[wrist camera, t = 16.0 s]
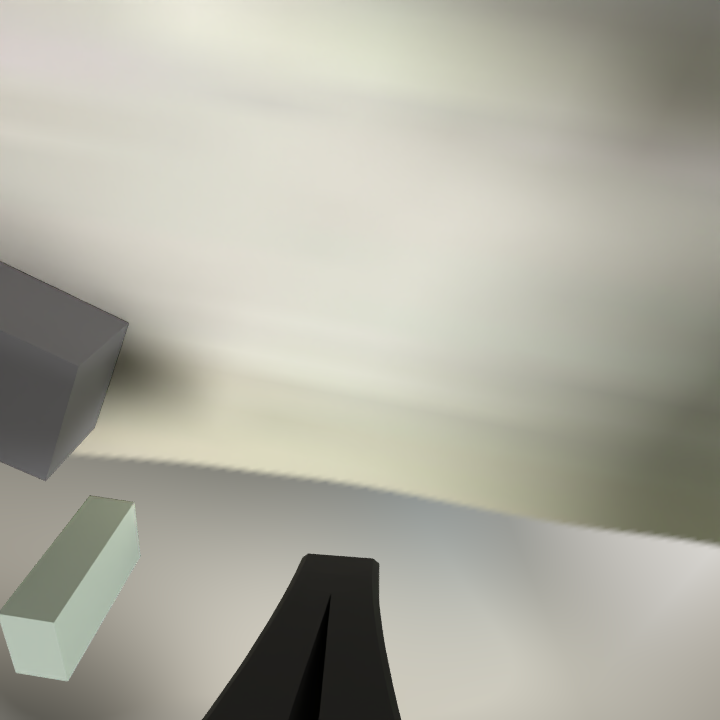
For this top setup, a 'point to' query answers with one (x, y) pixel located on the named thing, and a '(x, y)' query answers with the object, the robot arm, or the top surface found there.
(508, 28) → the top surface
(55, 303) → the grey notched block
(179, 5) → the top surface
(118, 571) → the pale green rectangular bar
